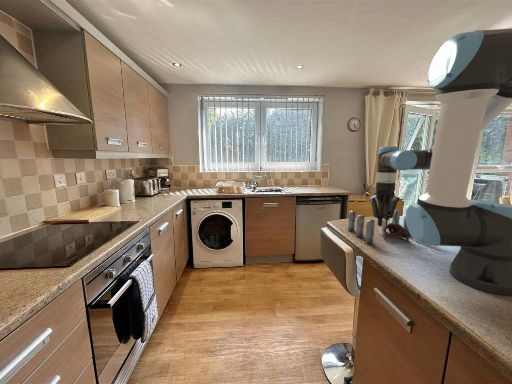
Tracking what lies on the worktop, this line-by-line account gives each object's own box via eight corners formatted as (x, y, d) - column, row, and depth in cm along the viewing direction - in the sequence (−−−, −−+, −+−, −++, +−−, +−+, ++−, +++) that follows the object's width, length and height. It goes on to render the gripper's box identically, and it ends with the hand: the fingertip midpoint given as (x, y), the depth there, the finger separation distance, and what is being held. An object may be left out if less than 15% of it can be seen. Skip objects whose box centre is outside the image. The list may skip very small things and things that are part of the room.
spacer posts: (426, 243, 92) (428, 220, 90) (367, 245, 91) (369, 221, 89) (395, 228, 110) (397, 209, 109) (346, 230, 110) (347, 210, 108)
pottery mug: (415, 245, 91) (410, 230, 89) (391, 253, 94) (385, 238, 91) (400, 229, 102) (395, 215, 100) (380, 236, 105) (374, 223, 102)
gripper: (394, 180, 102) (390, 229, 105) (366, 181, 101) (363, 230, 105) (406, 182, 94) (401, 235, 98) (376, 183, 94) (372, 235, 98)
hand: (381, 232), depth 102 cm, fingers closed
